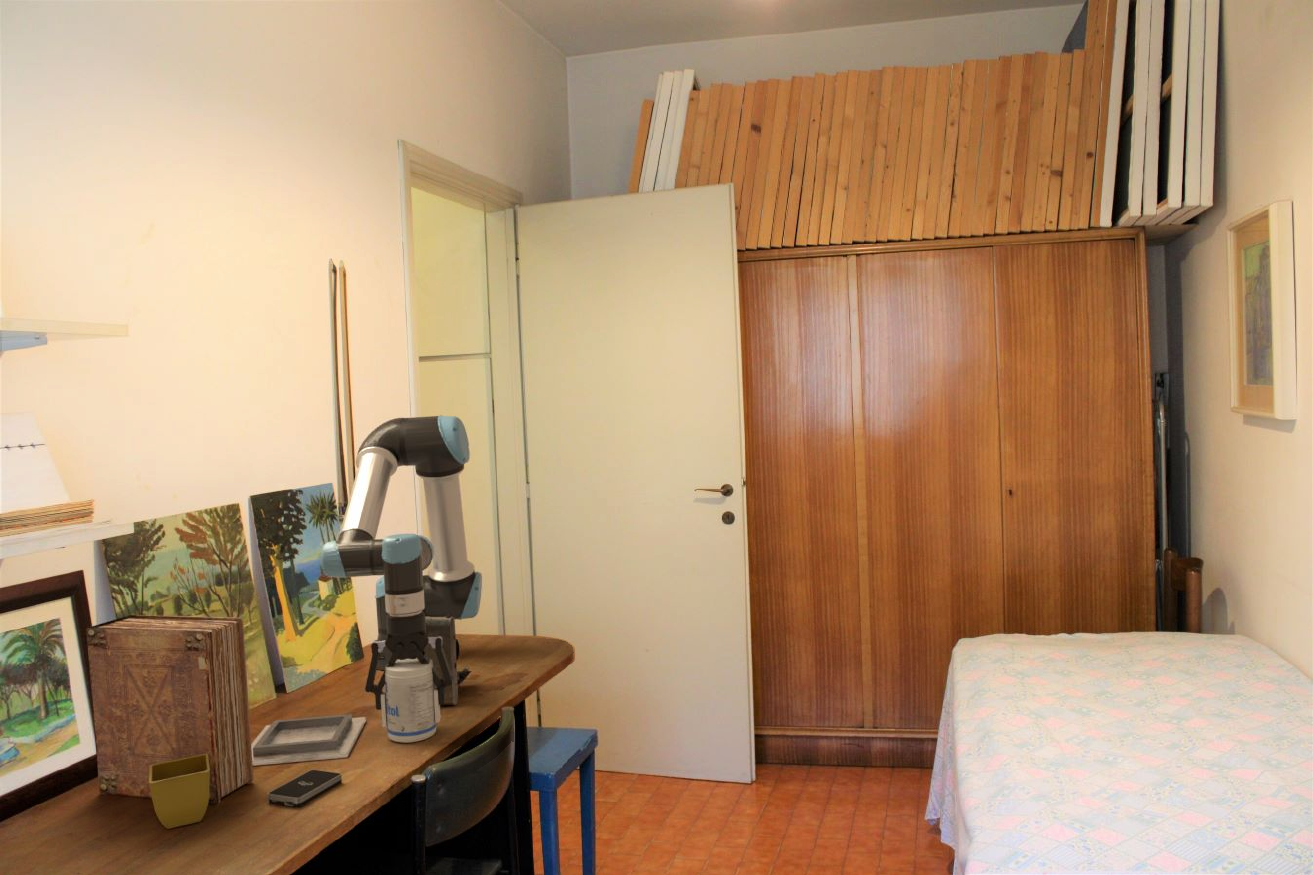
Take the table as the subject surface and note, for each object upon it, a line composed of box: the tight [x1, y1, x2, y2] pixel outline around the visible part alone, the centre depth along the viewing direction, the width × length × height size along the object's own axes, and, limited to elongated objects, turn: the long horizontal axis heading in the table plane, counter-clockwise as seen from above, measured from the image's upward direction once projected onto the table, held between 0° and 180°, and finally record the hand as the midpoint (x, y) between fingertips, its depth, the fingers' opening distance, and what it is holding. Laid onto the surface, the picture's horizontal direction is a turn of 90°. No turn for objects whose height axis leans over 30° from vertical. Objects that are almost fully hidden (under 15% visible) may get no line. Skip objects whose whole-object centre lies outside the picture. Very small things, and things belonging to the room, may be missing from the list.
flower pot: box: [149, 754, 210, 830], centre depth 156 cm, size 9×9×9 cm
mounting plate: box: [251, 713, 367, 767], centre depth 189 cm, size 20×20×3 cm
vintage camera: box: [424, 615, 472, 706], centre depth 215 cm, size 10×16×20 cm, turn 174°
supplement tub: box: [384, 658, 437, 744], centre depth 191 cm, size 10×10×15 cm
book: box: [85, 614, 255, 806], centre depth 169 cm, size 25×9×30 cm, turn 74°
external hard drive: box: [267, 769, 343, 808], centre depth 165 cm, size 7×11×2 cm, turn 158°
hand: (411, 722), depth 191 cm, fingers closed on supplement tub, 10 cm apart
